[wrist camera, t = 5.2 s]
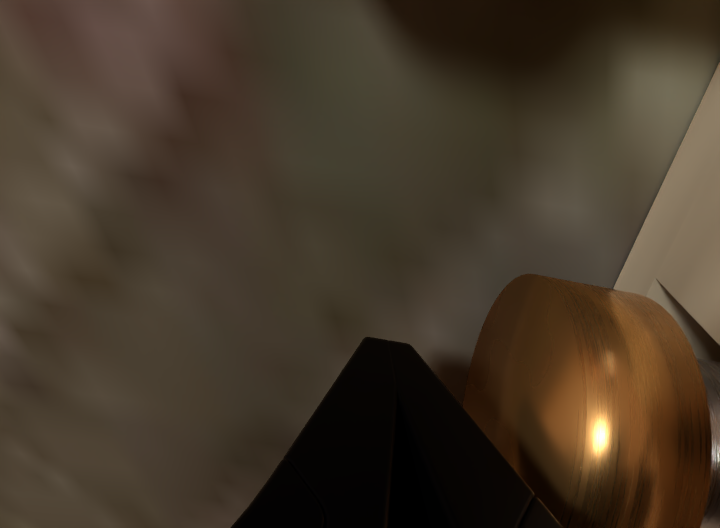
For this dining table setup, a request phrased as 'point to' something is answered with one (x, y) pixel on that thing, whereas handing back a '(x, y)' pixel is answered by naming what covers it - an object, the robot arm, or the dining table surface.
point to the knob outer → (599, 405)
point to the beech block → (686, 235)
